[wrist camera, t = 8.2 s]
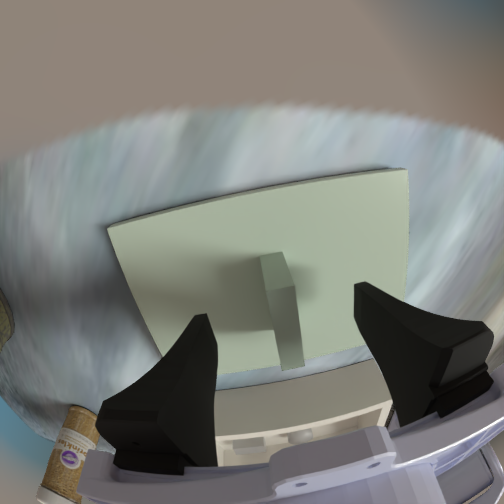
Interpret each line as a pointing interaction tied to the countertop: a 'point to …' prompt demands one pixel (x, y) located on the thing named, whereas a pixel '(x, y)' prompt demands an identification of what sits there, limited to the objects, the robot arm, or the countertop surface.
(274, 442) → the tub
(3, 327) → the thermos
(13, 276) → the countertop surface
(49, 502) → the sprinkles bottle
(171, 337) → the lid
